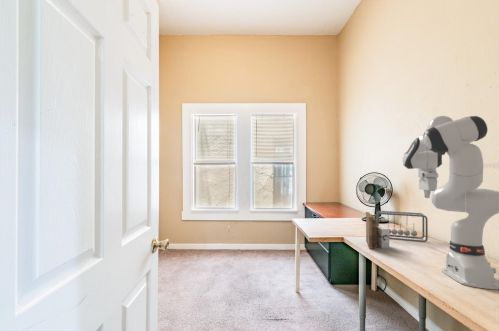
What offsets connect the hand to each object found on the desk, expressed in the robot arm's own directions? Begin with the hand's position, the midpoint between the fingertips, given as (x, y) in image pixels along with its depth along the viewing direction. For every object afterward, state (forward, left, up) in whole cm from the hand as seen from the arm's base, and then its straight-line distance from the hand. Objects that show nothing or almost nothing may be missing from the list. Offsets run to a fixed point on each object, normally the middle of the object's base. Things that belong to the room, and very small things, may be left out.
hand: (427, 197), depth 155 cm
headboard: (+4, +29, -31) cm, 43 cm away
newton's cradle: (+30, +8, -31) cm, 44 cm away
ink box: (+4, +23, -31) cm, 39 cm away
